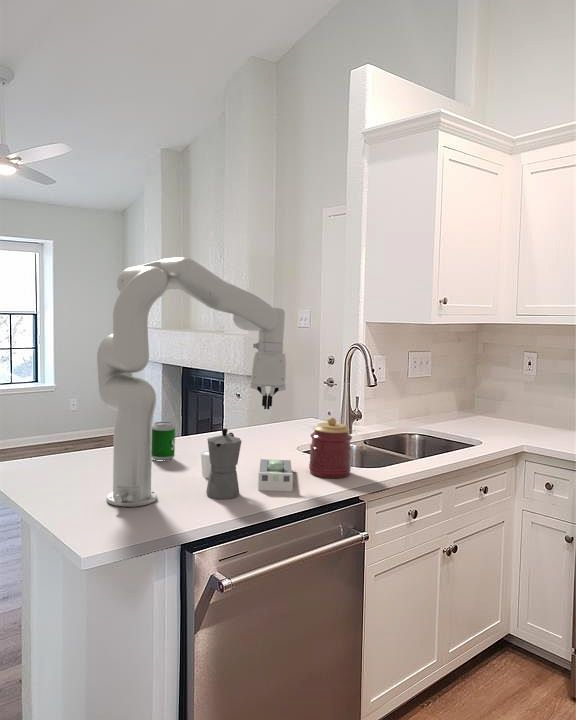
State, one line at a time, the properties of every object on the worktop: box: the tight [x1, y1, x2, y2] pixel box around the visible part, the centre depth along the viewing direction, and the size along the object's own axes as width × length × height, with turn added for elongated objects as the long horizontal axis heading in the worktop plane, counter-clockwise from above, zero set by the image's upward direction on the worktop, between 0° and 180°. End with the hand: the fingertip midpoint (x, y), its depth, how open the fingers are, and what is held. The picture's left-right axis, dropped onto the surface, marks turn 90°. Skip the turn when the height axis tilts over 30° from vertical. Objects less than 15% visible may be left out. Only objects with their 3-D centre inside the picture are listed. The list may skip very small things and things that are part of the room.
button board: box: [257, 458, 294, 492], centre depth 181 cm, size 24×10×5 cm, turn 1°
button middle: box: [268, 461, 283, 472], centre depth 181 cm, size 4×4×3 cm
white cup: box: [200, 450, 211, 479], centre depth 182 cm, size 7×7×7 cm
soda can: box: [152, 421, 176, 461], centre depth 199 cm, size 8×8×12 cm
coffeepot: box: [205, 428, 243, 500], centre depth 165 cm, size 15×9×18 cm, turn 171°
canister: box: [308, 417, 353, 479], centre depth 189 cm, size 13×13×18 cm
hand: (266, 408), depth 185 cm, fingers closed
